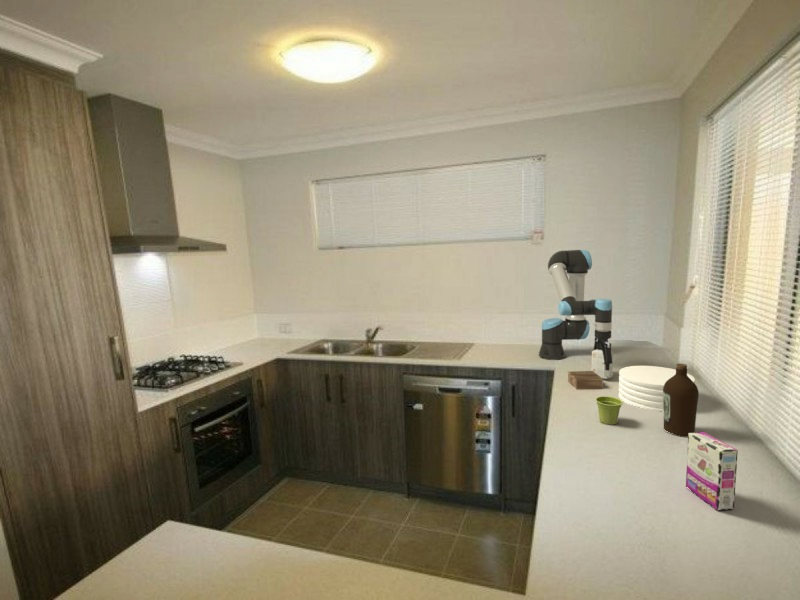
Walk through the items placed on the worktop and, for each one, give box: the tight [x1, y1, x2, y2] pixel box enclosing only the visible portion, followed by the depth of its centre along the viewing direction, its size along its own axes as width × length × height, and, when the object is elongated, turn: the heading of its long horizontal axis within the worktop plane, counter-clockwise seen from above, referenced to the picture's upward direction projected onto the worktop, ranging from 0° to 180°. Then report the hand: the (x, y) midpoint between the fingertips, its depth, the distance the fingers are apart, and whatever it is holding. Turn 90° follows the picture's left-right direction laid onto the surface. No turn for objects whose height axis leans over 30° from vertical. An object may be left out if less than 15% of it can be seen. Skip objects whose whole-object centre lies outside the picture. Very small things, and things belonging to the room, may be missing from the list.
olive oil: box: [663, 363, 700, 437], centre depth 151 cm, size 11×11×25 cm
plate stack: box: [618, 365, 696, 412], centre depth 182 cm, size 28×28×12 cm
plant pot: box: [595, 395, 624, 425], centre depth 162 cm, size 9×9×9 cm
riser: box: [567, 370, 604, 390], centre depth 204 cm, size 12×12×5 cm
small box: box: [590, 349, 614, 380], centre depth 212 cm, size 8×6×13 cm
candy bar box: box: [685, 431, 739, 511], centre depth 112 cm, size 11×5×16 cm, turn 5°
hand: (601, 372), depth 213 cm, fingers closed on small box, 10 cm apart
